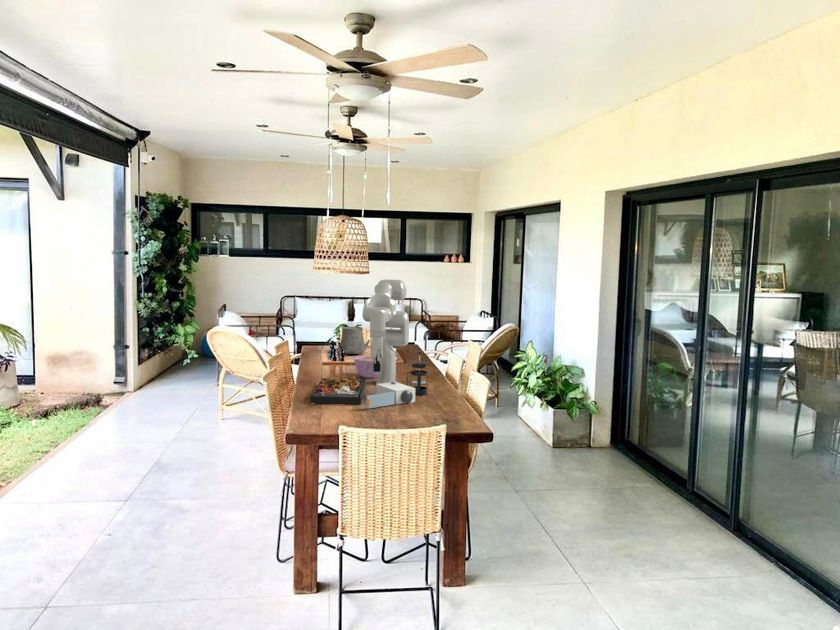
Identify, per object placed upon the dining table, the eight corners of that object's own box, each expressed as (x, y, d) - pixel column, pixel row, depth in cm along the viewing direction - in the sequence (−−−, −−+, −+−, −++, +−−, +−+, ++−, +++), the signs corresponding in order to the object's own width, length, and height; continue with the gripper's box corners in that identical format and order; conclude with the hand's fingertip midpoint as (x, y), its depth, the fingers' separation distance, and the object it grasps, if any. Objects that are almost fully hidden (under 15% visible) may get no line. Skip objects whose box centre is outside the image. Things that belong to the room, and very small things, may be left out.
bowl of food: (389, 374, 389) (389, 356, 388) (384, 381, 370) (384, 361, 368) (357, 373, 391) (357, 354, 390) (350, 379, 371) (350, 360, 370)
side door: (368, 409, 300) (368, 396, 299) (366, 408, 301) (366, 395, 301) (397, 404, 311) (397, 392, 310) (395, 403, 312) (395, 391, 312)
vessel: (331, 355, 456) (332, 328, 454) (344, 351, 477) (345, 325, 475) (359, 357, 450) (359, 329, 448) (371, 353, 470) (371, 326, 468)
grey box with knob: (375, 397, 327) (376, 382, 327) (395, 394, 335) (395, 380, 334) (397, 405, 311) (398, 389, 311) (417, 402, 319) (417, 387, 318)
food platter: (360, 406, 310) (361, 385, 309) (310, 405, 310) (310, 384, 309) (365, 387, 355) (365, 368, 354) (321, 386, 354) (321, 368, 353)
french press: (428, 392, 343) (430, 350, 341) (428, 396, 334) (430, 353, 331) (407, 391, 343) (408, 349, 341) (406, 395, 334) (407, 352, 332)
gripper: (367, 332, 313) (367, 368, 315) (371, 336, 298) (371, 374, 300) (383, 332, 315) (382, 368, 316) (387, 336, 300) (386, 374, 302)
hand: (376, 371), depth 308 cm, fingers closed
